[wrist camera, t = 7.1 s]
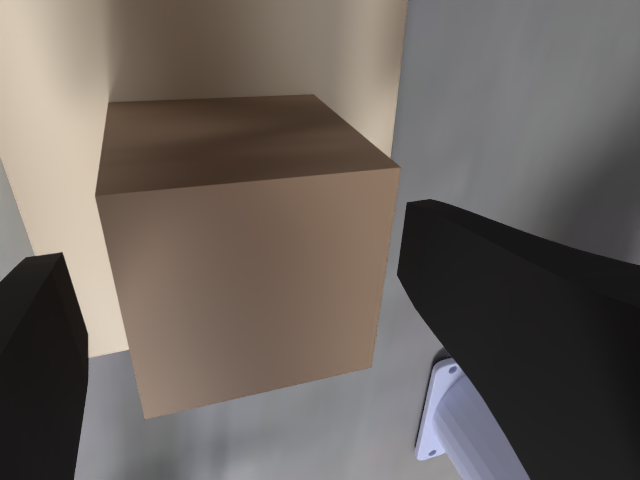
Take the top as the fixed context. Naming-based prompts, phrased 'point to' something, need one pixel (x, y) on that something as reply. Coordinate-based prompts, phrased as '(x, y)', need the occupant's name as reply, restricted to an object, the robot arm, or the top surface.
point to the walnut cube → (243, 243)
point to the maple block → (166, 97)
